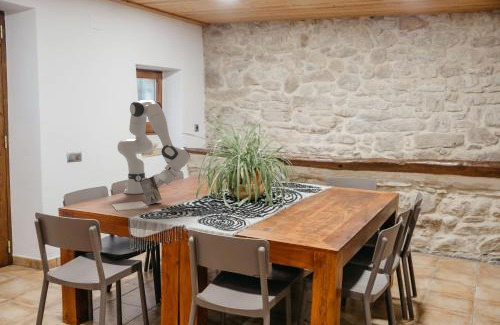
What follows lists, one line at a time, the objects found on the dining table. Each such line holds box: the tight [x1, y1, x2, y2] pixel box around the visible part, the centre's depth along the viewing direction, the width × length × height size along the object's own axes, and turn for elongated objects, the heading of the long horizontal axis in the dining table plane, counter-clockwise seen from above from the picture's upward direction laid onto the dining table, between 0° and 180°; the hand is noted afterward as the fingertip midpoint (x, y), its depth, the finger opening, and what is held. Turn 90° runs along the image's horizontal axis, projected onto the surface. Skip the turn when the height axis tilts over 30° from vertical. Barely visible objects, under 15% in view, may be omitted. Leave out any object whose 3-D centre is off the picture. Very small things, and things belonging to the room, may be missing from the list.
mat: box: [111, 200, 149, 212], centre depth 292 cm, size 20×19×1 cm
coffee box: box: [139, 176, 163, 206], centre depth 298 cm, size 9×6×16 cm
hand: (156, 186), depth 298 cm, fingers closed
